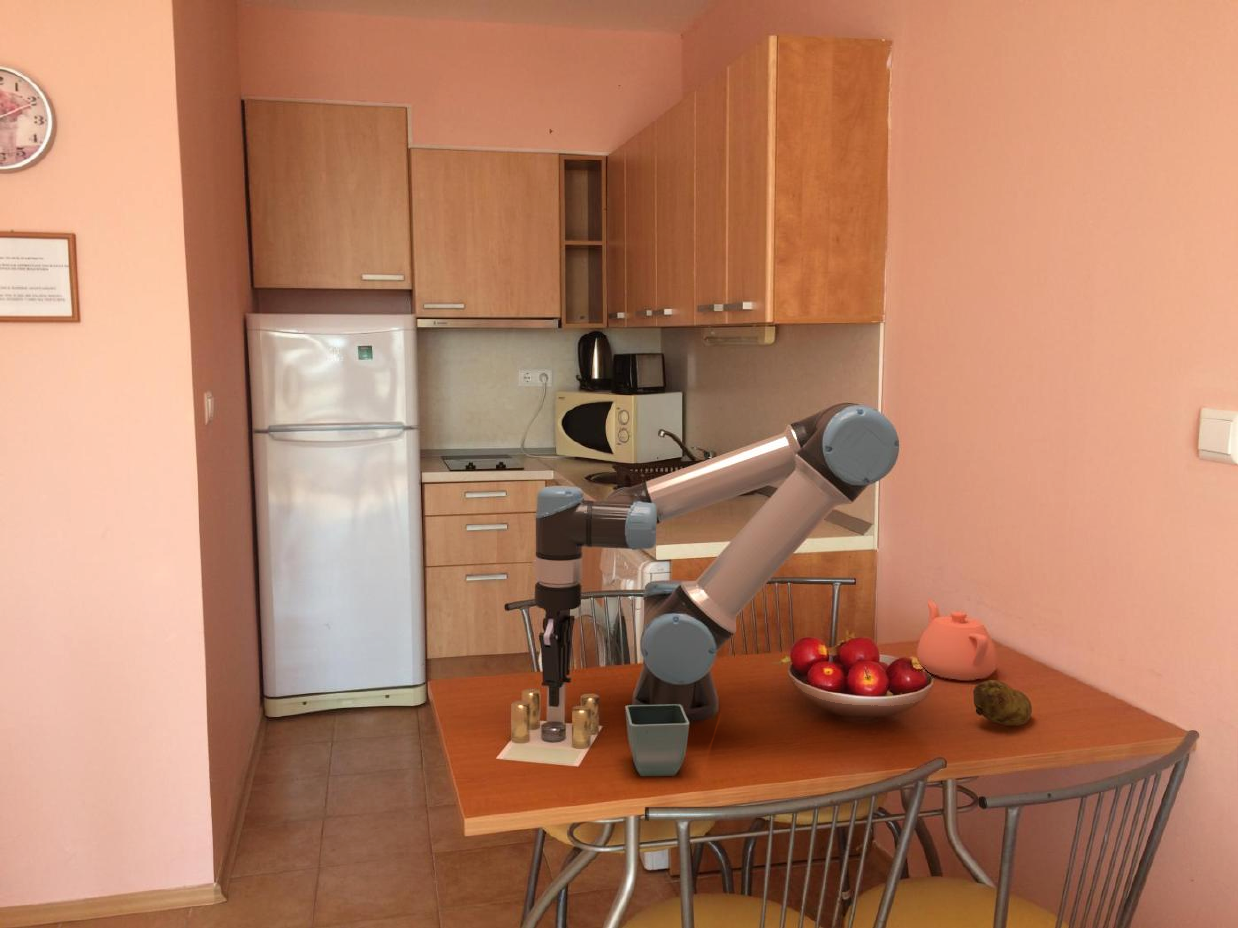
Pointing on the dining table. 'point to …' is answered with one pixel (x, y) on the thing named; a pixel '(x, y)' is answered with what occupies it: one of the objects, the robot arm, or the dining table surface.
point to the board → (546, 749)
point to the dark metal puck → (553, 732)
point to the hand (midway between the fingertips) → (555, 722)
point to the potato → (1001, 703)
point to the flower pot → (657, 738)
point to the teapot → (956, 646)
